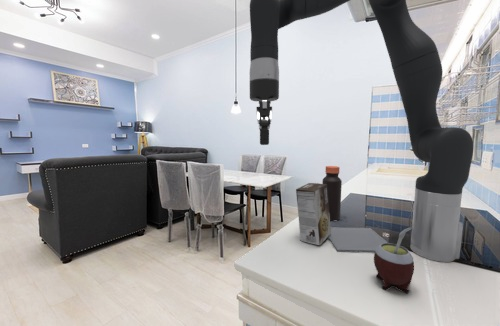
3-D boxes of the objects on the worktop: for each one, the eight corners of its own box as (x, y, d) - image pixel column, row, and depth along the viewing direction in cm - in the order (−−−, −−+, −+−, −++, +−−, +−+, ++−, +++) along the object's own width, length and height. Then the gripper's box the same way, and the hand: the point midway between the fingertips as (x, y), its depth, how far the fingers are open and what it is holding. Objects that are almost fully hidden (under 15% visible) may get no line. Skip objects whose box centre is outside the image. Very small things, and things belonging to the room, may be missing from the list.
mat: (370, 229, 74) (370, 228, 74) (397, 253, 59) (398, 251, 59) (322, 228, 75) (322, 227, 74) (337, 251, 60) (337, 249, 60)
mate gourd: (383, 270, 51) (387, 208, 49) (423, 290, 44) (430, 219, 43) (364, 281, 47) (368, 214, 46) (405, 305, 41) (411, 227, 39)
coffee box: (312, 230, 73) (308, 182, 72) (331, 233, 69) (328, 183, 67) (299, 241, 66) (294, 188, 65) (320, 245, 62) (315, 189, 60)
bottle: (343, 219, 83) (346, 167, 81) (331, 222, 80) (334, 168, 78) (329, 213, 89) (331, 165, 87) (317, 217, 86) (319, 166, 84)
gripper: (281, 72, 49) (280, 145, 51) (276, 87, 63) (276, 143, 65) (248, 72, 49) (248, 145, 51) (250, 87, 63) (251, 143, 65)
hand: (264, 144), depth 58 cm, fingers open, 8 cm apart
